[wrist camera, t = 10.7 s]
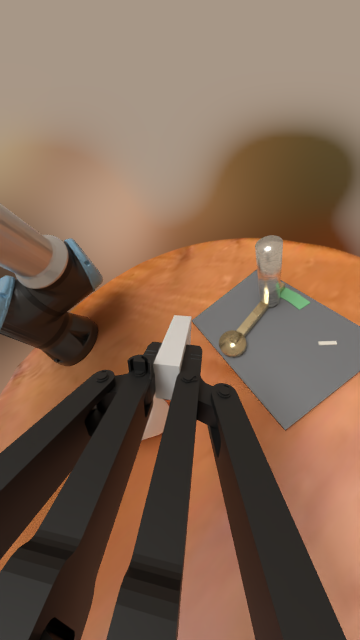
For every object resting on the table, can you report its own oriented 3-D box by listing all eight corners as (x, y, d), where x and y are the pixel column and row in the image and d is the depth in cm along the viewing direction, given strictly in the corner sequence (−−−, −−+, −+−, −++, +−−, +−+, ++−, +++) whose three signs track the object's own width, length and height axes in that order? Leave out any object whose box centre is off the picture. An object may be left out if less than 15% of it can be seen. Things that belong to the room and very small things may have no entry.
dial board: (193, 322, 45) (191, 320, 44) (259, 270, 45) (259, 266, 44) (285, 430, 28) (285, 430, 27) (388, 347, 28) (392, 344, 28)
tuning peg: (235, 362, 35) (219, 326, 24) (215, 347, 38) (191, 309, 27) (293, 290, 37) (302, 228, 26) (269, 281, 40) (268, 223, 29)
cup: (176, 389, 38) (145, 373, 29) (176, 443, 33) (139, 444, 24) (138, 393, 41) (98, 380, 31) (133, 443, 36) (84, 445, 26)
